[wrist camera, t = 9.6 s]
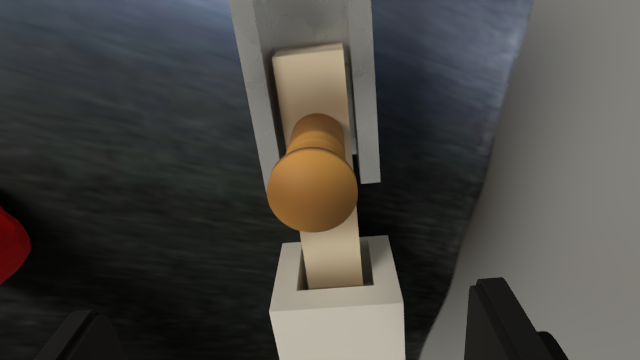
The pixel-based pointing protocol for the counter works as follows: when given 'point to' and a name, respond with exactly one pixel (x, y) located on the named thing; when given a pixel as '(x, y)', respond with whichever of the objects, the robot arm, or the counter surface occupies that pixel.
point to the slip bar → (317, 164)
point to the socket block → (339, 309)
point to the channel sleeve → (303, 30)
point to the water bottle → (12, 245)
